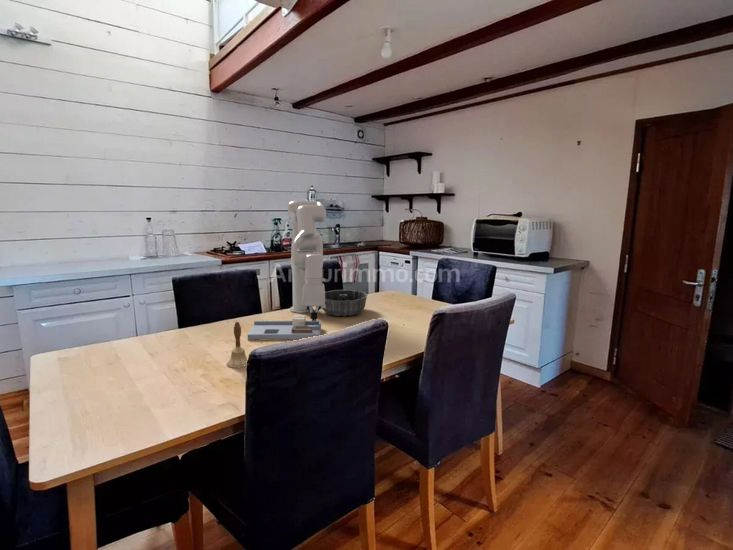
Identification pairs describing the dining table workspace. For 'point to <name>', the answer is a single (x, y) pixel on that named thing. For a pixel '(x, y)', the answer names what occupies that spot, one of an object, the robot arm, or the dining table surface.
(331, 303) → the bundt pan
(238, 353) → the hand bell
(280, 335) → the tray
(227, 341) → the dining table surface
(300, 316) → the cream block
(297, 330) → the crook tool
